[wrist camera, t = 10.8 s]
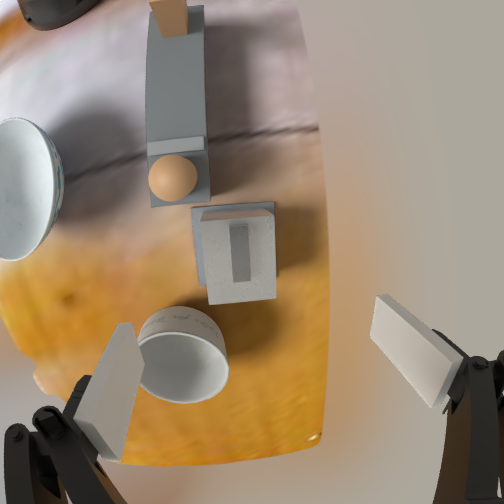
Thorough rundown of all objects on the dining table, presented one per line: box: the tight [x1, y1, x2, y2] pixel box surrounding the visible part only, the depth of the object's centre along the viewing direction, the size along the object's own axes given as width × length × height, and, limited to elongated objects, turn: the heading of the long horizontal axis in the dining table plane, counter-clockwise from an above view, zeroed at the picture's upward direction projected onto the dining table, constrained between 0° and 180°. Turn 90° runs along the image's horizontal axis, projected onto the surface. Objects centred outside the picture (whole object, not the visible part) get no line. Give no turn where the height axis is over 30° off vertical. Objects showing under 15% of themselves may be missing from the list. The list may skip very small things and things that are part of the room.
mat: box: [191, 202, 276, 286], centre depth 31 cm, size 9×9×1 cm
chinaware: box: [0, 118, 64, 261], centre depth 22 cm, size 15×15×8 cm
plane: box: [145, 0, 211, 208], centre depth 20 cm, size 21×6×12 cm, turn 3°
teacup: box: [137, 306, 230, 403], centre depth 30 cm, size 14×11×8 cm
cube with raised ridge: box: [200, 207, 276, 305], centre depth 27 cm, size 8×6×7 cm
